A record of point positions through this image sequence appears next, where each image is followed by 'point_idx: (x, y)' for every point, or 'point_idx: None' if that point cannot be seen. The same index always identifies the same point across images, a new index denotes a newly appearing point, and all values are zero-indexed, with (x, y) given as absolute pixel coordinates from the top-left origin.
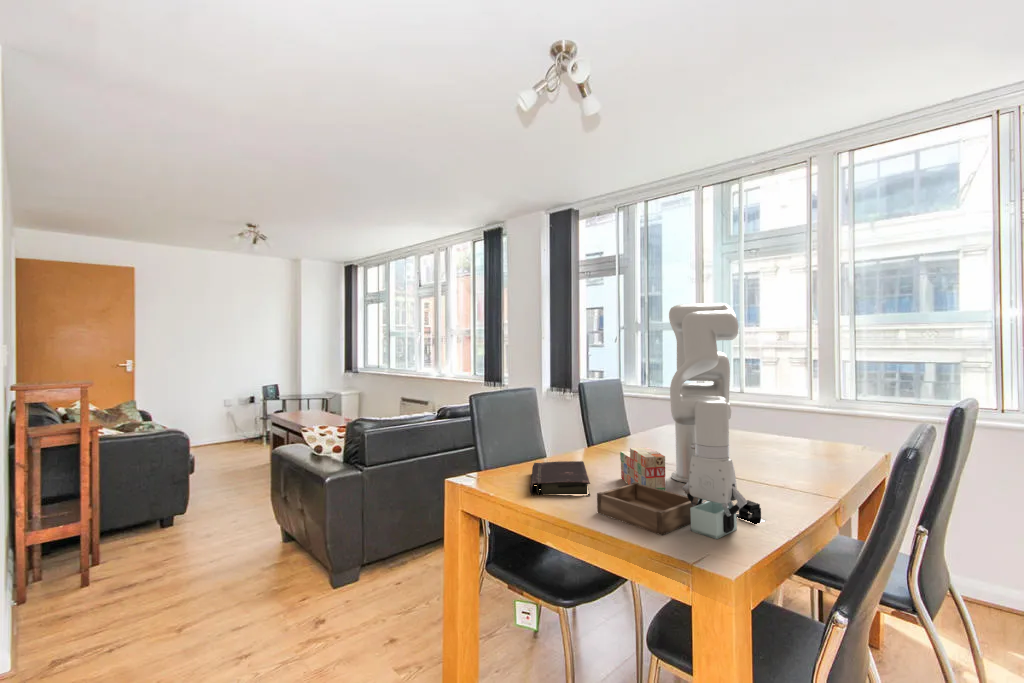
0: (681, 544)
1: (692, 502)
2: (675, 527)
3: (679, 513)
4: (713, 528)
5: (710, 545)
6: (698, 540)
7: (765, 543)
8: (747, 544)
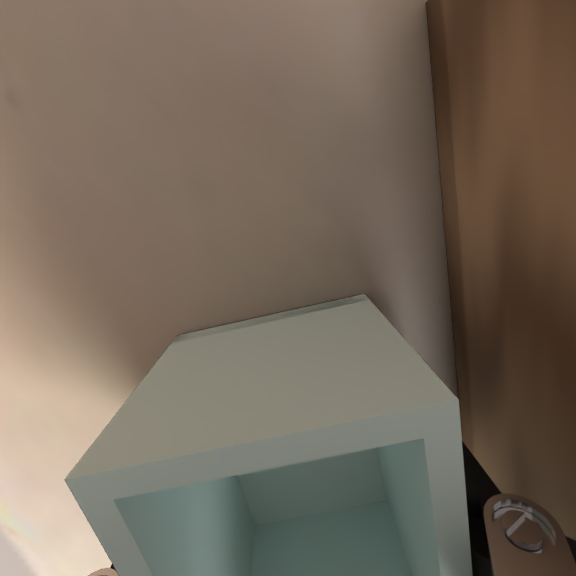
0: (202, 15)
1: (558, 543)
2: (452, 213)
3: (534, 300)
4: (175, 364)
5: (110, 221)
6: (213, 213)
7: (43, 507)
8: (57, 427)
